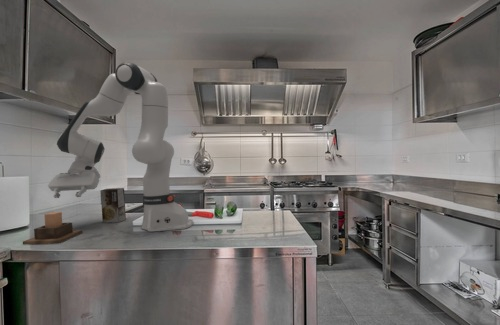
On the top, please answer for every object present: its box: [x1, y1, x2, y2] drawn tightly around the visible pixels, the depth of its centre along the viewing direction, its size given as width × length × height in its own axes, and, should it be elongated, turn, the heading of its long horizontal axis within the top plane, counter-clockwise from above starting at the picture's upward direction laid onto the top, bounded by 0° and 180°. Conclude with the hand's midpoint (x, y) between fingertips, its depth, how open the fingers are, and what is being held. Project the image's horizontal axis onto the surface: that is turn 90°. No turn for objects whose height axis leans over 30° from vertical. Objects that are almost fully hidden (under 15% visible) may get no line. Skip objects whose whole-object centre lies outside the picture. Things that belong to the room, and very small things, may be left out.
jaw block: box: [44, 211, 63, 228], centre depth 111 cm, size 4×4×9 cm
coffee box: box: [99, 187, 127, 223], centre depth 139 cm, size 9×6×16 cm
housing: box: [22, 222, 84, 245], centre depth 111 cm, size 14×14×5 cm
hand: (66, 196), depth 119 cm, fingers open, 8 cm apart
